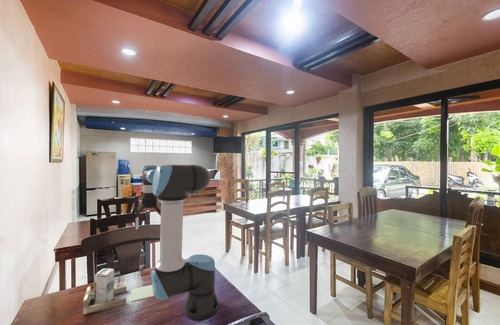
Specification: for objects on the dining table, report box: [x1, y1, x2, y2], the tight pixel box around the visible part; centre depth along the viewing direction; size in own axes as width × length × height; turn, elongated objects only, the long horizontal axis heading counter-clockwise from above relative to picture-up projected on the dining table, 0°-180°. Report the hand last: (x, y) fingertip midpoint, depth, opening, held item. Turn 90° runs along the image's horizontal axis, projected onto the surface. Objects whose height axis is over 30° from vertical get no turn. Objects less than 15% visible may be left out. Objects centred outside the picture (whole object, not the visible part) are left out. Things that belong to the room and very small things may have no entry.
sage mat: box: [130, 284, 155, 303], centre depth 116 cm, size 11×10×1 cm
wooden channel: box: [82, 285, 127, 315], centre depth 109 cm, size 12×16×6 cm
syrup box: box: [93, 268, 115, 305], centre depth 108 cm, size 6×6×14 cm
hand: (149, 228), depth 135 cm, fingers open, 13 cm apart
